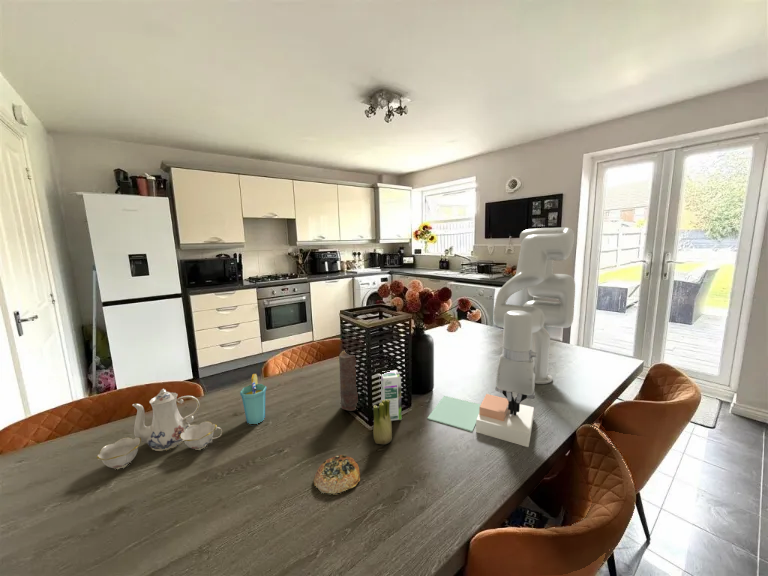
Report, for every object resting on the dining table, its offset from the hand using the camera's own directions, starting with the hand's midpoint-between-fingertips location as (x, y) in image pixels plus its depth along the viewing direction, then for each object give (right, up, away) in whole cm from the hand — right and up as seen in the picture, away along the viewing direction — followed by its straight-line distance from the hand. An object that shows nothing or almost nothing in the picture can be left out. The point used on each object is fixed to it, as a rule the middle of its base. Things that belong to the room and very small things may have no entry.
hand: (513, 412), depth 90 cm
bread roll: (-50, -9, -17) cm, 53 cm away
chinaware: (-99, -8, -5) cm, 99 cm away
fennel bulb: (-39, -6, -4) cm, 40 cm away
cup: (-79, -6, +6) cm, 79 cm away
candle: (-49, -4, +13) cm, 51 cm away
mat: (-15, -4, +9) cm, 18 cm away
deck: (-2, -5, +2) cm, 5 cm away
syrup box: (-36, -5, +8) cm, 37 cm away
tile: (-5, 0, +3) cm, 5 cm away
